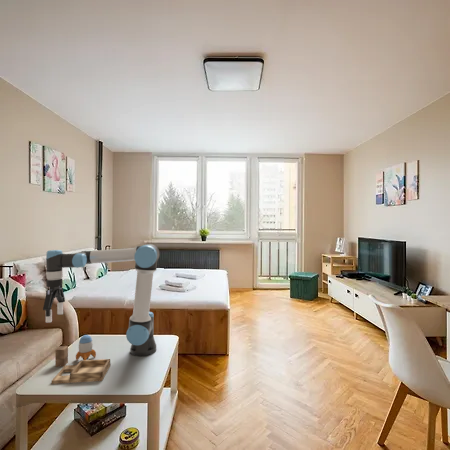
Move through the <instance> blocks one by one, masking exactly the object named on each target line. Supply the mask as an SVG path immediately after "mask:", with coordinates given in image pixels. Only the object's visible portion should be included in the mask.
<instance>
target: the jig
mask: <svg viewBox="0 0 450 450" xmlns="http://www.w3.org/2000/svg"><path fill="white" fill-rule="evenodd" d="M111 364H112V363H111V358H105V359H103V358H102V359H87V360H83V359H81V360H80V361H79V362H78V363H77V364H69V365H68V364H66V365H65V366H64V367H62V368H61V370H59V372H58V373H57V374H56V375H55V376H54V377H53V378H52V379H51V385H52V384H53V385H55V384H57V385H58V384H71V383H72V384H73V383H89V382H93V383H94V382H102V381H103V380H104V378H106V377H105V376H106V375H107V373H108V371H109V369H110V367H111ZM64 373H69V374H68V375H63V374H64Z"/></svg>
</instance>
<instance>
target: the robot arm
mask: <svg viewBox="0 0 450 450" xmlns="http://www.w3.org/2000/svg"><path fill="white" fill-rule="evenodd" d="M160 253H161V252H160V249H159V248H158V246H157V245H155V244H154V243H153V244H152V243H146V244H143V245H136V246H135V247H129V248H115V249H113V248H112V249H99V250H82V251H79V252H74V253H63V250H62V249H51V250H48V251H46V258H45V262H46V267H45V269H46V270H45V271H46V272H45V275H46V276H45V277H46V280H45V281H46V283H45V284H46V286H45V287H46V288H49V289H48V290H45V298H44V303H43V308H42V310H43V311H45V323H53V322H52V321H53V310H52V308H53V307H52V306H53V304H54V300H55V299H56V300H57V304H56V306H57V307H56V308H57V311H56V314H57V315H64V303H66V297H65V294H64V290H63V268H65V269H67V268H71V269H72V268H76V269H79V268H83V267H85V266H86V265H91V264H102V263H103V264H105V263H118V262H131V261H132V262H133V261H134V262H135V264H134V270H135V271H136V280H135V281H136V283H135V292H134V300H133V311H132V315H131V316H130V317H129V321H128V328H127V330H126V333H125V334H126V335H125V336H126V340H127V342H128V343H129V344H131V346H130V348H129V349H130V350H129V351H130V355H132V356H135V357H145V356H149V355H152V354H154V353H156V351H157V344H156V341H155V338H154V329H155V328H154V325H155V323H154V318H155V317H154V312H152V311H150V307H151V299H152V289H153V288H152V287H153V279H154V278H153V277H154V273H155V272H156V271H157V267H158V260H159V258H160V256H161V255H160Z"/></svg>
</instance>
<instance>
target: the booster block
mask: <svg viewBox="0 0 450 450" xmlns="http://www.w3.org/2000/svg"><path fill="white" fill-rule="evenodd" d="M54 353H55V356H54V357H55V359H54V360H55V361H54V363H55V366H54V367H55V368H61V367H62V368H63V367H64V366H65V365H68V364H69V363H68V362H69V346H68V345H61V346H60V345H59V346H58V347H57V348H55V352H54Z"/></svg>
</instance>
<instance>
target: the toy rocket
mask: <svg viewBox="0 0 450 450" xmlns="http://www.w3.org/2000/svg"><path fill="white" fill-rule="evenodd" d="M93 345H94V344H93V338H92V336H91V335H89V334H84V335H82V336H81V337H80V339H79V342H78V351H77V353H76V354H75V360H76V361H78V360H79V359H80V358H81V359H82V360H89V357H91V356H92V358H96V357H97V352H96V350H95V349H93Z"/></svg>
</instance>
